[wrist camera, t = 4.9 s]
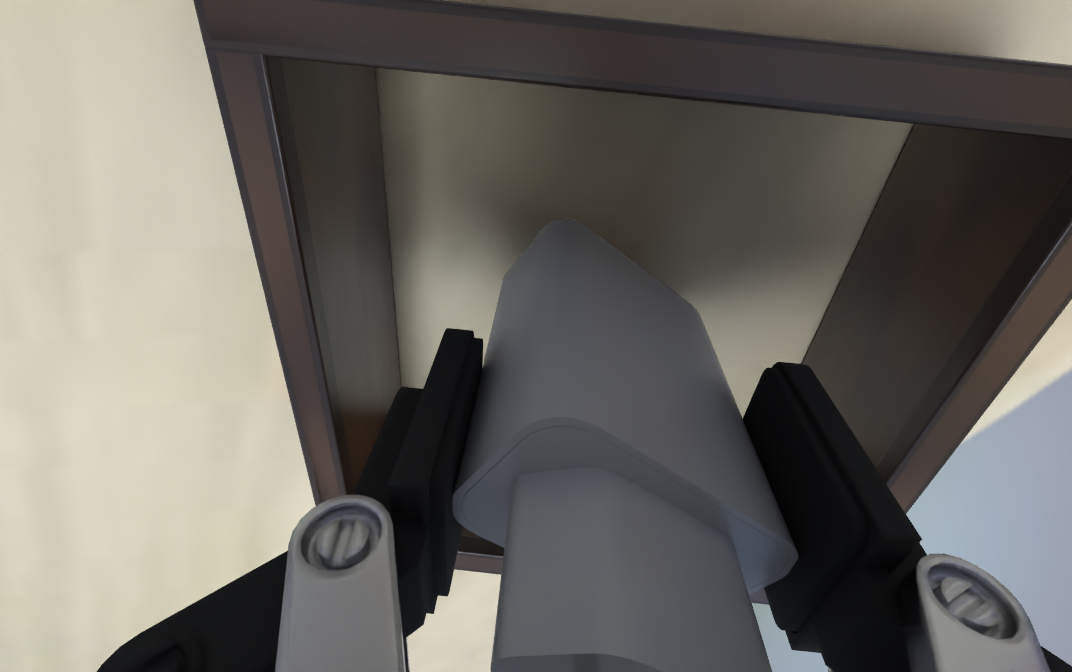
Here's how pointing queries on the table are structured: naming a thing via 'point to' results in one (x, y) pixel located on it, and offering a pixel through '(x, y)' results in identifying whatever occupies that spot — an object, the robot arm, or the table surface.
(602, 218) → the table surface
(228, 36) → the square frame
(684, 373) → the power adapter
